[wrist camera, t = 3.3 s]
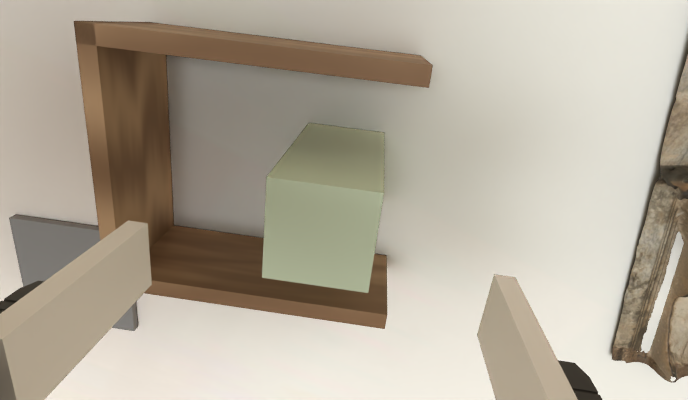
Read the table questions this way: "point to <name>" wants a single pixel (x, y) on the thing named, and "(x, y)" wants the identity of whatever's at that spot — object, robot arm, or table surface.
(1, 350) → the robot arm
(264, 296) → the brown wooden frame
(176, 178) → the table surface
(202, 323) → the table surface
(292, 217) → the block
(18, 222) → the mat
